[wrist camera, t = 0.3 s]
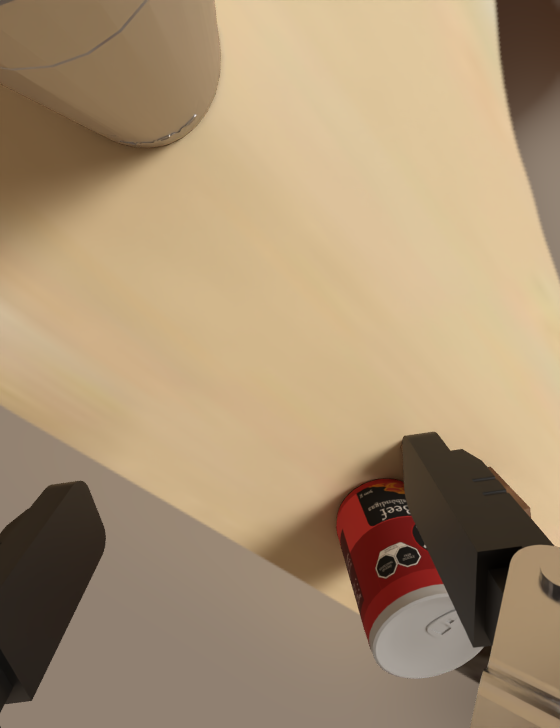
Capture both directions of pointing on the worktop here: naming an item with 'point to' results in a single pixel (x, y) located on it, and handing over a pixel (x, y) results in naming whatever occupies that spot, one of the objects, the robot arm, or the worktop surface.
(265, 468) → the worktop surface
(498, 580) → the robot arm
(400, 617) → the canned food
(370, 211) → the worktop surface
